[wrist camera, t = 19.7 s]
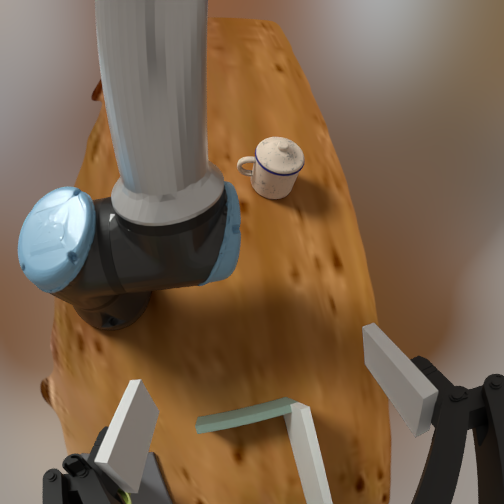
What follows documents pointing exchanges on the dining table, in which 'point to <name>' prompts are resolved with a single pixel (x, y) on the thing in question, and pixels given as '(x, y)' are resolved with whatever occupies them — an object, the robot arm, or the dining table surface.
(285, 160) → the teacup with lid
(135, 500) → the slate mat
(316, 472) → the grey-green angled panels
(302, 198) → the dining table surface
